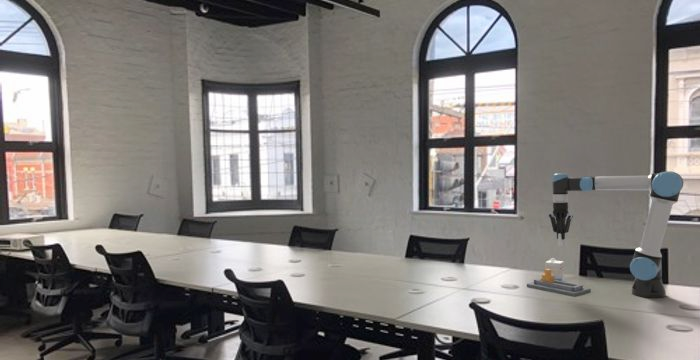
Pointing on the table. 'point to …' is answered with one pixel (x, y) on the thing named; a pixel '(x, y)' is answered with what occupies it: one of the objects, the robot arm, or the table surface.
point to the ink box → (556, 269)
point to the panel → (559, 287)
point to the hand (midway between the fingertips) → (561, 245)
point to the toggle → (548, 276)
